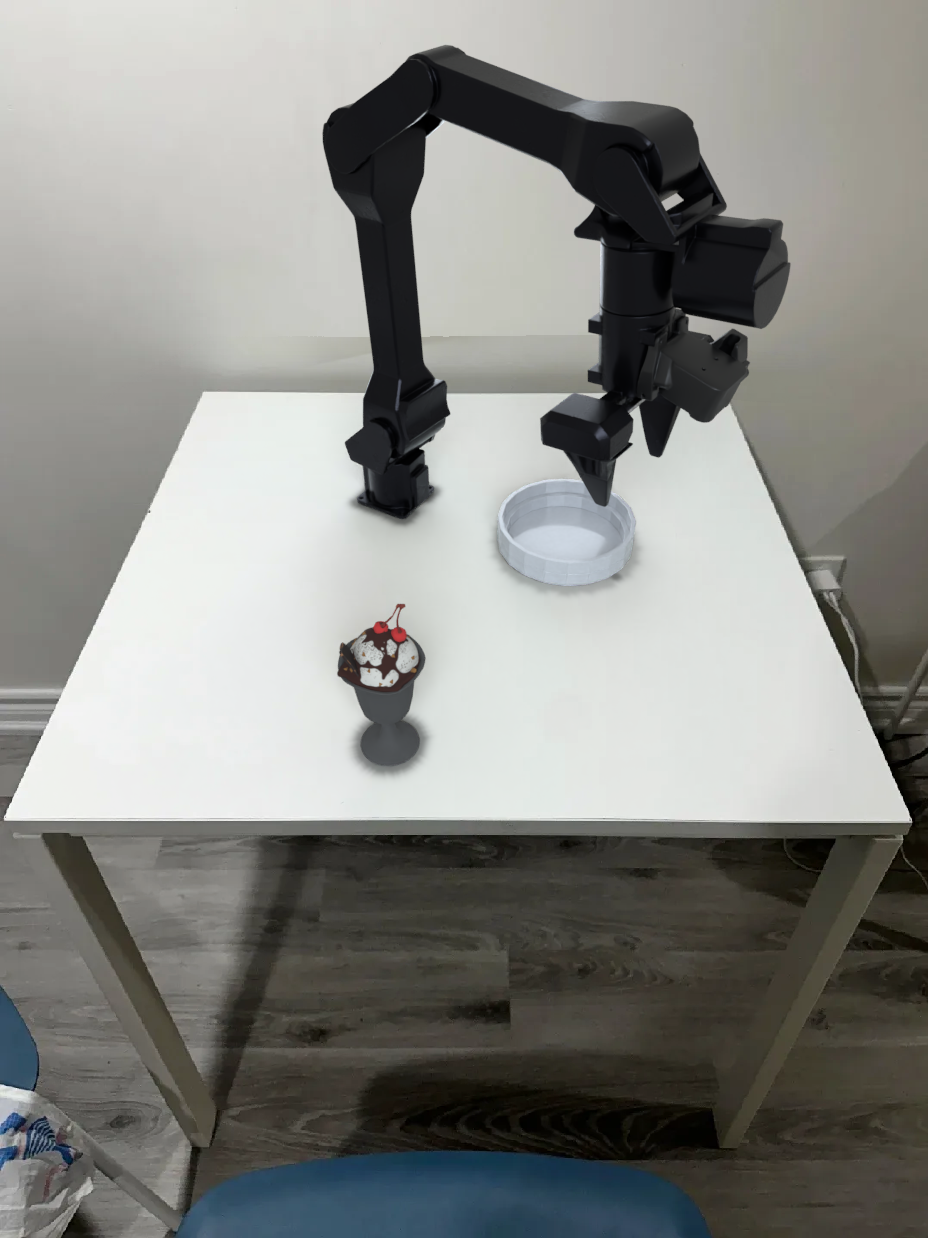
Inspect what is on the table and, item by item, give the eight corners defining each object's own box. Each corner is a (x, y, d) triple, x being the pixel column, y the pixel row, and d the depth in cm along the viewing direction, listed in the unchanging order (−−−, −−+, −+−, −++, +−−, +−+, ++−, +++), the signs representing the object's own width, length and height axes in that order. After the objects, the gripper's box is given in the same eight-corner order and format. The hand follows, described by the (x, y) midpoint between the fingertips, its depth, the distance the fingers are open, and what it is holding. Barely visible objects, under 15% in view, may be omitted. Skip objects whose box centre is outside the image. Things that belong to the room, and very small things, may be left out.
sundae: (443, 726, 76) (438, 597, 65) (406, 785, 71) (395, 657, 61) (375, 702, 78) (360, 573, 67) (336, 758, 73) (313, 629, 63)
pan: (473, 560, 92) (473, 533, 89) (535, 491, 100) (537, 465, 98) (597, 607, 86) (600, 580, 84) (651, 530, 95) (656, 503, 93)
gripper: (674, 373, 58) (659, 564, 68) (791, 277, 68) (763, 455, 78) (533, 340, 63) (539, 521, 73) (661, 256, 74) (651, 425, 84)
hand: (629, 479), depth 77 cm, fingers open, 9 cm apart
